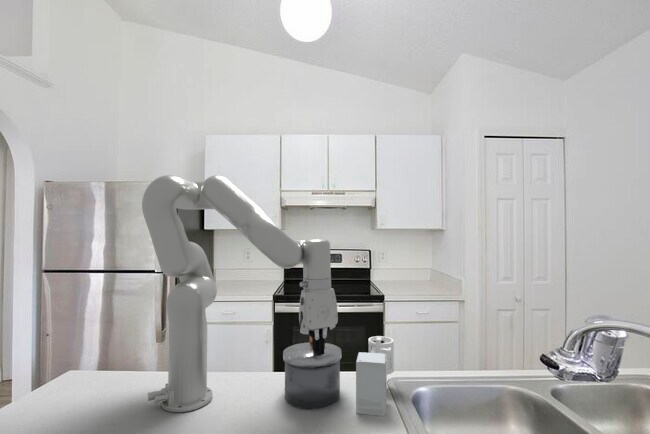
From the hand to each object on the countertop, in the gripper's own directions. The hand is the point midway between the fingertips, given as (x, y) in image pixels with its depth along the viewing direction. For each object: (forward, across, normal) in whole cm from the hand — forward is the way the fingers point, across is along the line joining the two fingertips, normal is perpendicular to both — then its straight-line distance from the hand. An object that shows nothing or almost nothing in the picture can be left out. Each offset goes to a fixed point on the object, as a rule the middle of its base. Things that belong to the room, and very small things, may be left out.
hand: (318, 352), depth 91 cm
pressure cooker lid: (+2, -1, +2) cm, 3 cm away
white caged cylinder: (+13, +17, -6) cm, 22 cm away
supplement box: (+12, +8, -12) cm, 19 cm away
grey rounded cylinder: (+12, -1, +2) cm, 12 cm away
